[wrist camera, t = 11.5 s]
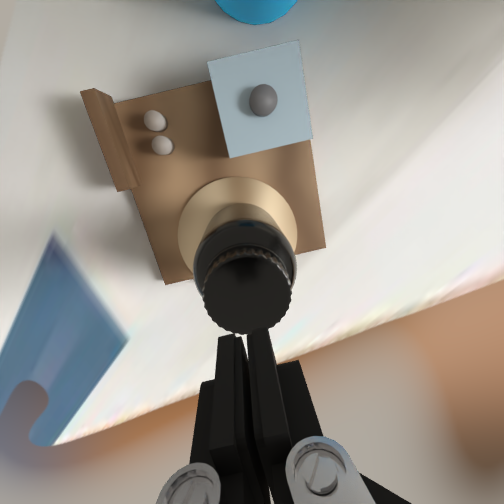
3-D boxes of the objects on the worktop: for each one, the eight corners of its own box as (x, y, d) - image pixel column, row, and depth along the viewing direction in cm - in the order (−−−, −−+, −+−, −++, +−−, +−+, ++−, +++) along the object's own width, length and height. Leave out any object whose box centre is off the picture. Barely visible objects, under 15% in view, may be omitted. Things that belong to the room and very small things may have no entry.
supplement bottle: (290, 217, 26) (335, 263, 15) (261, 281, 28) (282, 367, 17) (219, 188, 25) (208, 214, 14) (194, 258, 27) (165, 332, 15)
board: (294, 56, 24) (306, 36, 20) (325, 266, 30) (340, 283, 26) (105, 102, 24) (79, 91, 20) (175, 301, 30) (166, 323, 26)
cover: (286, 60, 22) (301, 34, 17) (299, 141, 24) (316, 138, 19) (211, 79, 22) (205, 57, 18) (230, 158, 24) (229, 158, 19)
